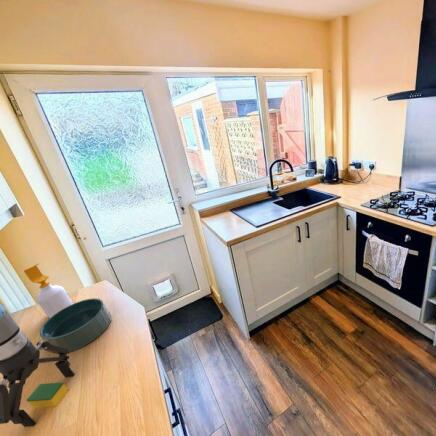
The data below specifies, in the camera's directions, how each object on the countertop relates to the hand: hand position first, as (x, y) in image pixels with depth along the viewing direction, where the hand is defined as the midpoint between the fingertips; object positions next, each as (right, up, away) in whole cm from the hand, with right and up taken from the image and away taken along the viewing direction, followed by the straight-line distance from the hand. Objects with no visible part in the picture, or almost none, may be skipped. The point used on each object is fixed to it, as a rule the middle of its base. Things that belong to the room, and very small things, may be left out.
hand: (51, 398), depth 73 cm
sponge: (0, 0, 0) cm, 0 cm away
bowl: (-10, +9, +23) cm, 27 cm away
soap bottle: (-30, +13, +36) cm, 48 cm away
